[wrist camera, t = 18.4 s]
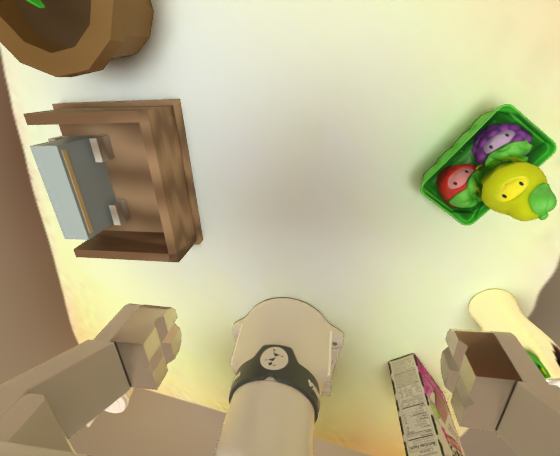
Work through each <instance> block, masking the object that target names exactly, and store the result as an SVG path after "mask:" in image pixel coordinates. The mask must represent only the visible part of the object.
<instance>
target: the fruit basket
mask: <svg viewBox="0 0 560 456" xmlns="http://www.w3.org/2000/svg"><path fill="white" fill-rule="evenodd" d="M555 151H556V143H555V142H554V141H553V140H552V139H551V138H549V137H548V136H547V135H546V134H545V133H544V132H543V131H541V130H540V129H539V128H538V127H537V126H536V125H534V124H533V123H532V122H531V121H530V120H529V119H527V118H526V117H525V116H524V115H523V114H522V113H521V112H519V111H518V110H517V109H516V108H515V107H513V106H512V105H510V104H504V105H502V106H500V107H498V108H496V109H495V110H493V111H491V112H488V113H486V114H483V115H481V116H480V117H479V118H478V119H477V120H476V121H475V122H474V123H473V124H472V126H471V128H470V130H468V131H466V132H465V133H464V134H463V135H462V136H461V137H460V138H459V139H458V140H457V141H456V142H455V143H454V145H453V147H452V148H450V149H448V150H447V151H446V152H445V153H444V154H443V155H442V156H441V157H440V158H439V160H438V161H437V163H436V164H435V165H433V166H432V167H431V168H430V169H429V170H428V171H427V172H426V173H425V174H424V176H423V182H422V185H421V188H420V191H421V193H422V194H423V195H424V196H425V197H427V198H428V199H429V200H431V201H432V202H434V203H435V204H436V205H437V206H439V207H440V208H442V209H443V210H444V211H445V212H447V213H448V214H449V215H450V216H452V217H453V218H454V219H455V220H457V221H458V222H459V223H461V224H462V225H471V224H473V223H474V222H476V221H477V220H478V219H479V218H480V217H481V216H483V215H484V214H485V213H486V212H487V211H488V210H489V209H492V210H494V211H496V212H499V213H502V214H506V215H510V216H511V217H513V218H515V219H517V220H520V221H529V220H533V219H537V218H539V219H540V220H544V219H546V218H547V217H548V214H547V212H549V211H551V210H553V209H554V208H555V206H556V203H557V200H556V197H555V195H554V193H553V192H552V191H551V189H550V186H549V184H547V179H546V176H545V175H544V173H543V172H542V171H541V169H540V168H538V167H539V166H540V165H542V164H543V163H544V162H545V161H546V160H547V159H549V158H550V157H551V156H552V155H553V154H554V153H555Z"/></svg>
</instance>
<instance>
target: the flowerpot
mask: <svg viewBox="0 0 560 456" xmlns="http://www.w3.org/2000/svg"><path fill="white" fill-rule="evenodd" d="M152 18H153V8H152V5H151V1H150V0H0V42H1V43H2V44H3V45H4V46H5V47H6V48H7V49H8V50H9V51H10V52H11V53H12V54H13V55H14V57H15V58H16V59H17V60H18V61H19V62H20V63H23V64H25V65H28V66H30V67H33V68H35V69H38V70H40V71H43V72H45V73H48V74H50V75H53V76H55V77H74V76H78V75H82V74H87V73H91V72H95V71H100V70H103V69H104V68H105V66H106V65H107V64H108V62H109V61H110V60H111V59H115V58H120V57H124V56H128V55H133V54H137V53H138V51H139V50H140V49H141V48H142V46H143V45H144V44H145V42H146V41H147V40H148V39H149V37H150V32H151V25H152Z"/></svg>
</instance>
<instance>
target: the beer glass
mask: <svg viewBox="0 0 560 456" xmlns="http://www.w3.org/2000/svg"><path fill="white" fill-rule="evenodd" d="M468 309H469V313H470V315H471V317H472V318H473V319H474V320H475V321H476V322H477V323H478V324H479V326H480V327H481V328H482V330H483V331H488V332H490V331H495V332H511V333H512V334H514V335H515V336H516V338H517V339H518V341H519V342H520V343H521V345H522V346H523V348H524V349H525V351H526V352H527V353H528V355H529V356H530V358H531V359H532V360H533V362H534V363H535V365H536V366H537V368H538V369H539V370H540V372H541V373H542V375H543V376H544V378H545V379H546V380H547V382H548V383H549V385H557V386H558V387H560V348H559V347H558V346H557V345H556V344H555V343H554V342H553V341H552V340H551V339H550V338H549V337H548V336H547V335H546V334H544V333H543V332H542V331H541V330H540V329H539V328H537V327H536V326H535V325H534V324H533V323H532V322H530V321H529V320H528V319H527V318H526V317H525V316H524V315H523V313H522V312H521V310H520V309H519V306H518V304H517V302H516V300H515V298H514V297H513V296H512V295H511V294H510V293H508V292H507V291H504V290H500V289H490V290H486V291H483V292H480V293H479V294H477V295H476V296H474V297H473V298H472V300H471V301H470V303H469V307H468Z"/></svg>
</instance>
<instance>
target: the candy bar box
mask: <svg viewBox="0 0 560 456" xmlns="http://www.w3.org/2000/svg"><path fill="white" fill-rule="evenodd" d="M388 364H389V369H390V374H391V379H392V384H393V390H394V394H395V400H396V405H397V410H398V415H399V420H400V426H401V431H402V436H403V441H404V445H405V451H406V456H465V454H464V451H463V448H462V446H461V443H460V440H459V437H458V434H457V431H456V428H455V426H454V423H453V420H452V417H451V414H450V411H449V408H448V405H447V402H446V400H445V397H444V394H443V393H442V391H441V390H440V389H439V387H438V386H437V385H436V383H435V382H434V381H433V379H432V378H431V376H430V375H429V374H428V372H427V371H426V370H425V368H424V367H423V365H422V364H421V363H420V361H419V360H418V358H417V357H416V356H415V354H414V353H413V354H409V355H406V356H404V357H401V358H398V359H395V360H392V361H390V362H388Z"/></svg>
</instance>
